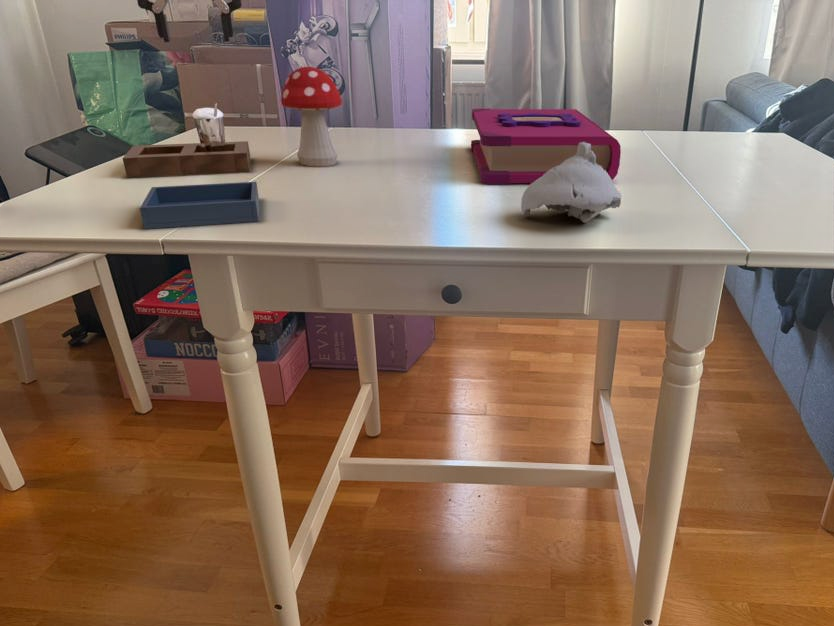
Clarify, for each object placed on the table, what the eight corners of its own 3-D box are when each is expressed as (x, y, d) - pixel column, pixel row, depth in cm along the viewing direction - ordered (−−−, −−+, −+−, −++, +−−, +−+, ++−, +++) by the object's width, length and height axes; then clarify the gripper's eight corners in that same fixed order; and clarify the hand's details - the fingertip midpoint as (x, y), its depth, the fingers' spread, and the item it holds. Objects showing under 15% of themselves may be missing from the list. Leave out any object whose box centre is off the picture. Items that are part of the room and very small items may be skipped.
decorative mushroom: (356, 160, 116) (348, 65, 109) (333, 170, 109) (323, 70, 102) (304, 156, 118) (293, 63, 111) (278, 166, 111) (265, 68, 104)
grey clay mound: (563, 222, 94) (584, 144, 91) (629, 243, 86) (655, 159, 83) (501, 211, 86) (522, 126, 83) (568, 234, 78) (594, 141, 75)
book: (581, 147, 128) (584, 105, 124) (617, 183, 103) (623, 132, 99) (470, 148, 126) (470, 105, 123) (481, 184, 102) (481, 132, 98)
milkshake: (213, 171, 107) (202, 105, 103) (197, 166, 111) (185, 101, 106) (239, 167, 110) (229, 102, 106) (222, 162, 114) (212, 99, 109)
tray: (144, 229, 81) (139, 207, 80) (156, 206, 90) (151, 187, 88) (258, 221, 84) (255, 200, 83) (259, 200, 93) (256, 181, 91)
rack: (126, 178, 103) (122, 158, 102) (137, 164, 112) (133, 145, 110) (249, 172, 107) (246, 152, 106) (250, 159, 116) (247, 141, 114)
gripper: (230, -82, 99) (247, 40, 107) (124, -85, 96) (150, 40, 104) (227, -87, 93) (246, 42, 101) (115, -91, 90) (143, 43, 97)
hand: (197, 41), depth 102 cm, fingers open, 8 cm apart
